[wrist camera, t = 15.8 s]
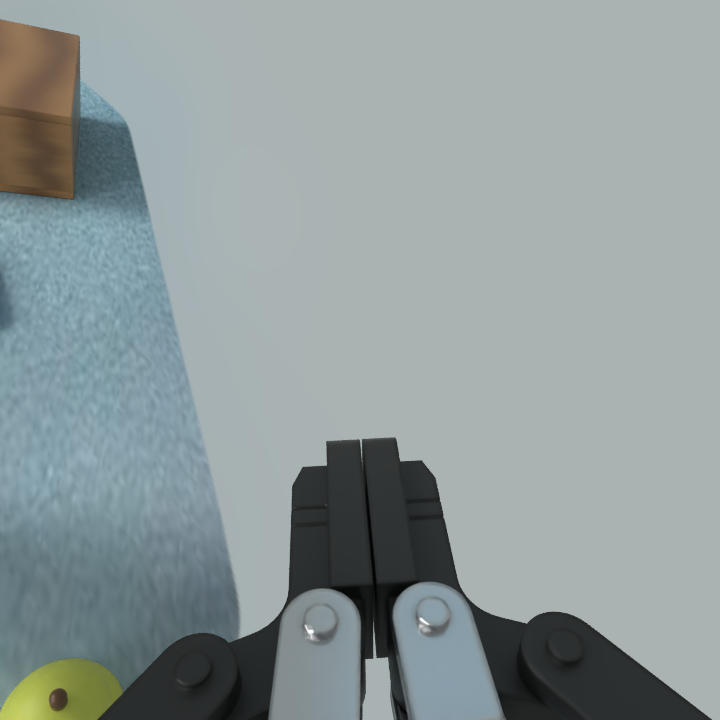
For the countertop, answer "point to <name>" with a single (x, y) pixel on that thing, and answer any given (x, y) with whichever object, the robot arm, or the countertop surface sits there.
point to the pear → (63, 692)
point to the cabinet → (39, 110)
